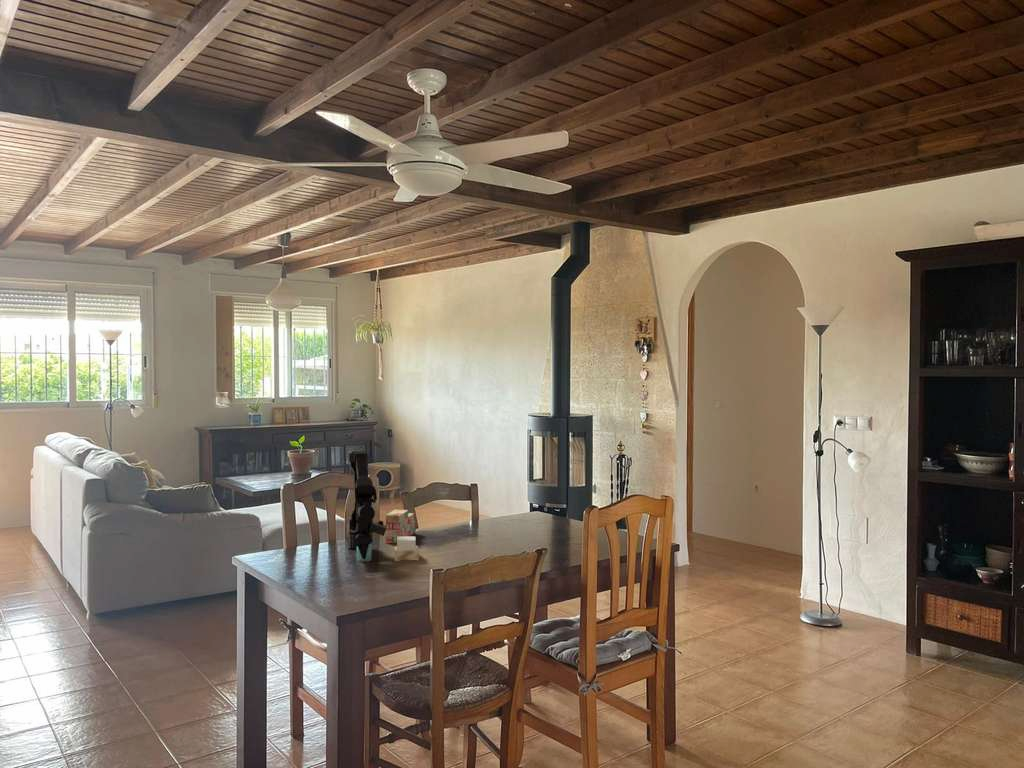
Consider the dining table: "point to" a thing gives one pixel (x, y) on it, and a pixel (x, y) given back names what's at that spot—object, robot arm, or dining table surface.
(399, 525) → the beige printed box
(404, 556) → the oak base slab
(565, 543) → the dining table surface
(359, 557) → the seafoam tapered dome
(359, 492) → the robot arm
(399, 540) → the white upper slab
